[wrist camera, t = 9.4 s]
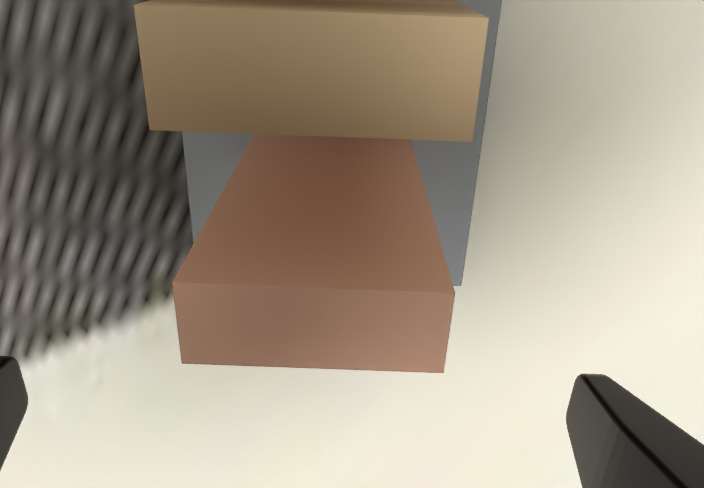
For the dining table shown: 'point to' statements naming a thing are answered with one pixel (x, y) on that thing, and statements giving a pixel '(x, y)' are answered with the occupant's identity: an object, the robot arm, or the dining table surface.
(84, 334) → the dining table surface
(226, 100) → the domino
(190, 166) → the mat
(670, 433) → the robot arm
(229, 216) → the terracotta domino
